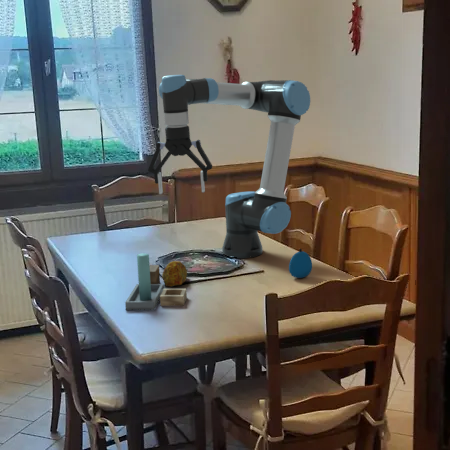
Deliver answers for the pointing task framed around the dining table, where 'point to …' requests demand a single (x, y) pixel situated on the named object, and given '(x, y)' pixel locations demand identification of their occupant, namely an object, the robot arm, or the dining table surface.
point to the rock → (174, 274)
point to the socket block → (173, 297)
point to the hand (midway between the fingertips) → (182, 192)
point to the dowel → (144, 276)
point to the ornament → (300, 264)
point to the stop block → (154, 274)
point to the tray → (137, 304)
